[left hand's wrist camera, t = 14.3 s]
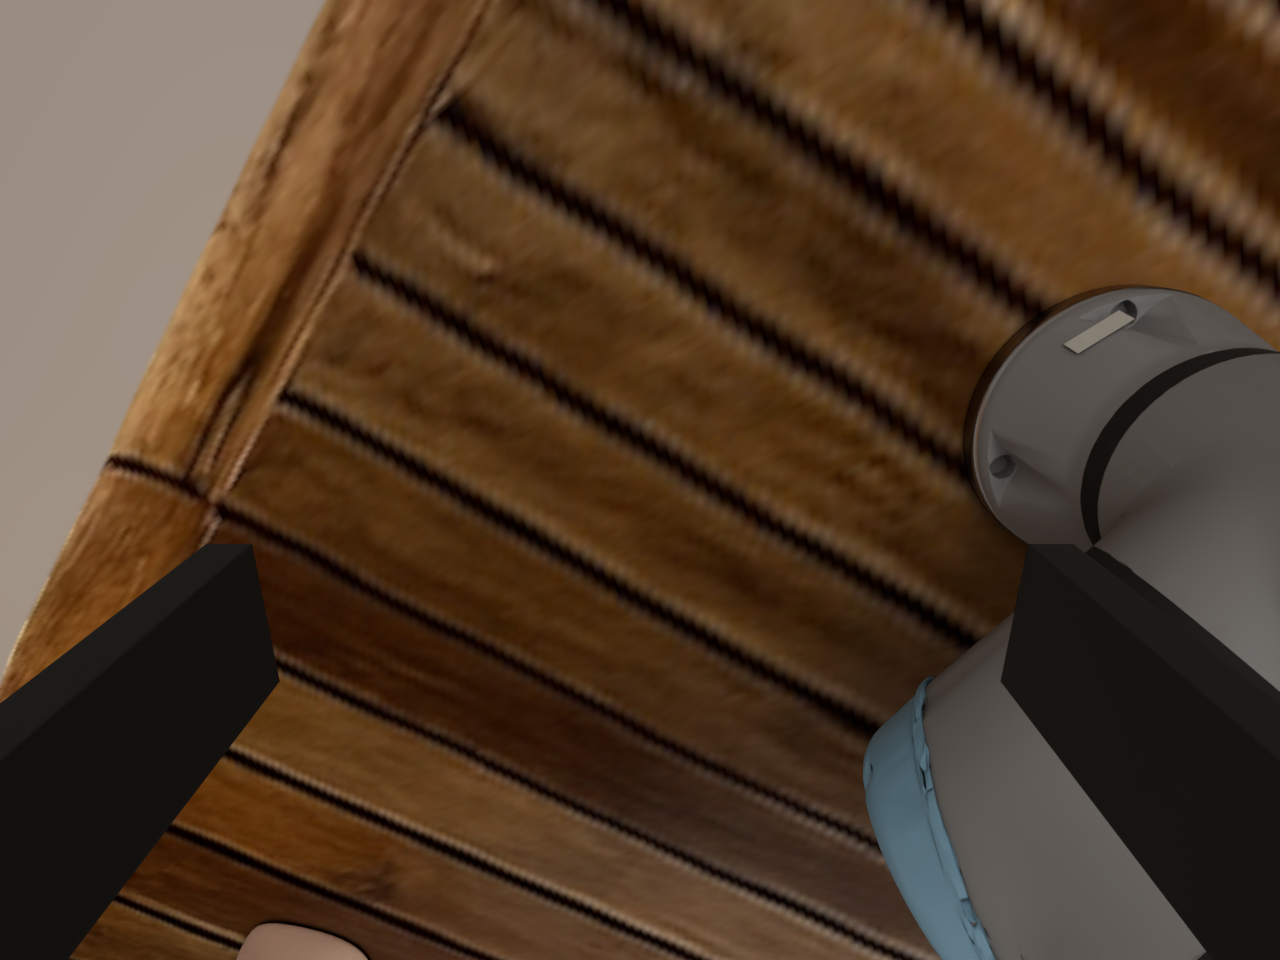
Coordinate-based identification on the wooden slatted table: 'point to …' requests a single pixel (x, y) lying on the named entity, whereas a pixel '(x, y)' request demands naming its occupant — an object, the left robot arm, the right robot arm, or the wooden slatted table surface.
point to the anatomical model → (295, 944)
